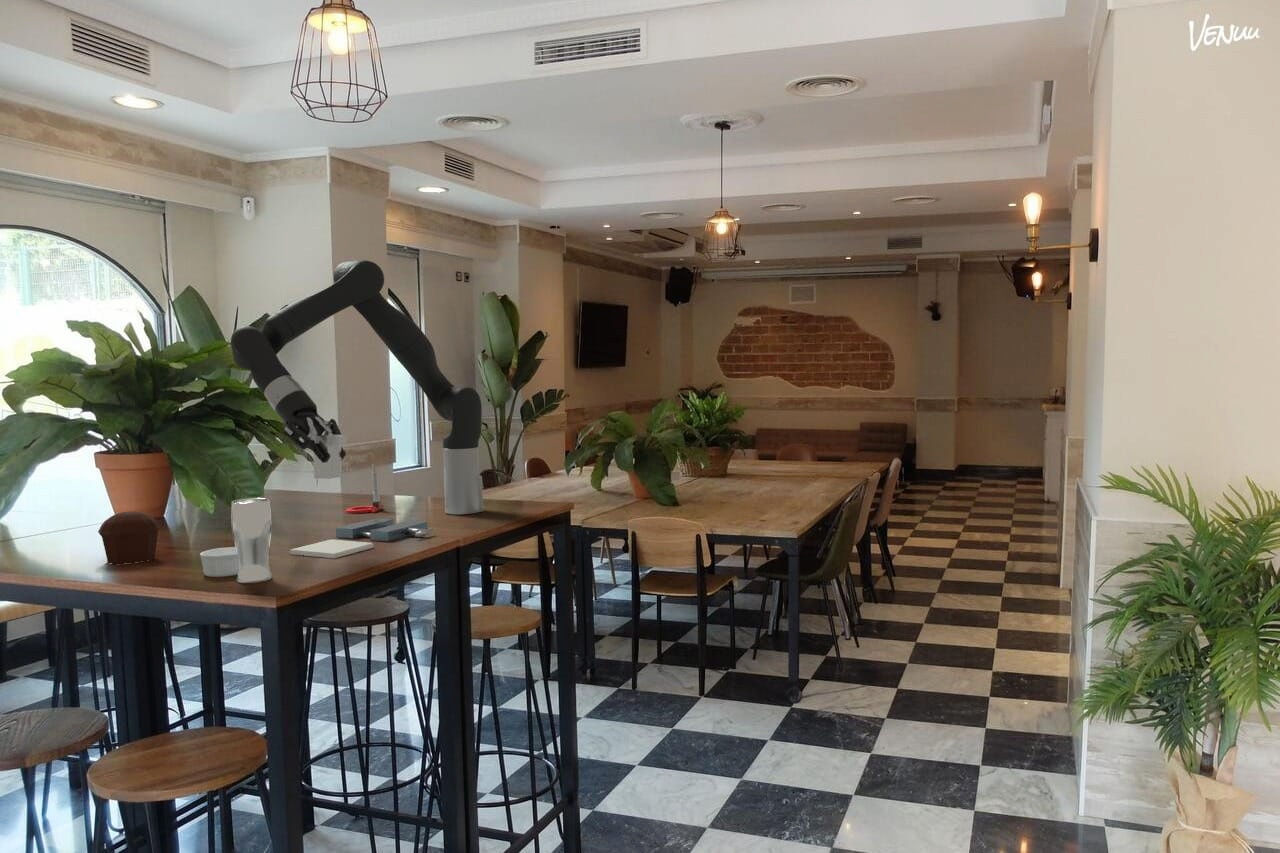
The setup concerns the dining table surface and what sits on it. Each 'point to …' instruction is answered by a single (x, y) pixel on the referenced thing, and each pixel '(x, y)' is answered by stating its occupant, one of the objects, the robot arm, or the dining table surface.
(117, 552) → the muffin
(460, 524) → the dining table surface
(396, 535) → the vise
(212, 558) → the ramekin
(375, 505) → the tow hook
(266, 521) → the beer glass
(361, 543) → the pad
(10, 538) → the dining table surface
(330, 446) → the glass mug
